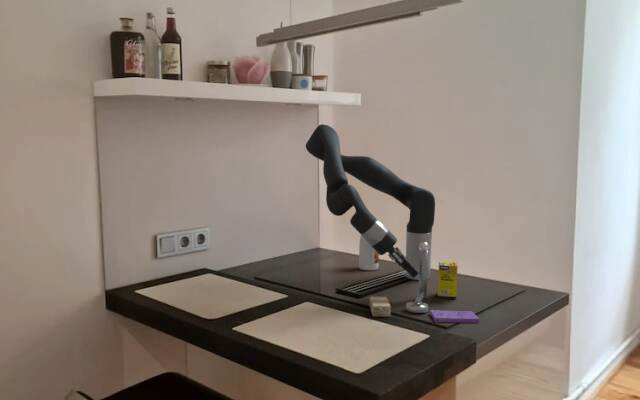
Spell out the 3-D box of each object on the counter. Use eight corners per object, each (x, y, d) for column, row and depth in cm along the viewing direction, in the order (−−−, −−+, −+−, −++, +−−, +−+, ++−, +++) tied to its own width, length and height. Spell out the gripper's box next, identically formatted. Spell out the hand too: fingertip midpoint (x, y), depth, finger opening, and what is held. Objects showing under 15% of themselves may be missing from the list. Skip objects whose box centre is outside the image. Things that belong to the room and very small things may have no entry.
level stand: (369, 306, 170) (369, 296, 170) (386, 306, 170) (386, 296, 170) (373, 317, 159) (373, 307, 159) (391, 318, 159) (391, 307, 159)
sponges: (430, 315, 163) (430, 309, 163) (472, 316, 163) (473, 310, 163) (434, 323, 156) (435, 317, 156) (479, 324, 156) (479, 318, 156)
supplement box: (456, 299, 179) (457, 266, 178) (437, 298, 180) (438, 265, 179) (455, 294, 185) (457, 262, 184) (437, 293, 186) (438, 261, 185)
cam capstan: (426, 314, 162) (428, 252, 160) (404, 311, 164) (406, 250, 162) (432, 297, 179) (434, 241, 177) (412, 295, 181) (414, 240, 179)
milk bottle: (369, 271, 215) (370, 220, 212) (354, 268, 220) (355, 218, 218) (382, 269, 220) (383, 218, 218) (368, 265, 225) (369, 216, 223)
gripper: (368, 241, 183) (404, 278, 185) (372, 249, 170) (410, 288, 172) (384, 225, 183) (420, 262, 184) (390, 232, 170) (428, 272, 171)
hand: (415, 275), depth 178 cm, fingers closed
